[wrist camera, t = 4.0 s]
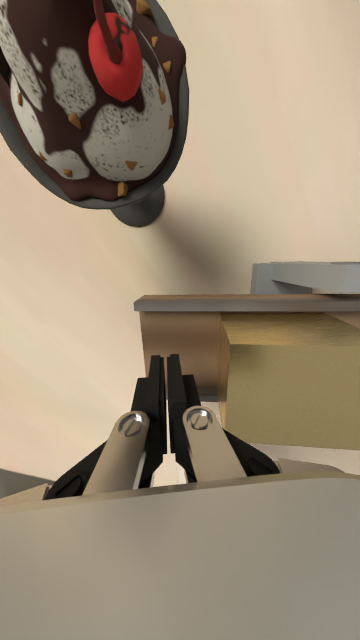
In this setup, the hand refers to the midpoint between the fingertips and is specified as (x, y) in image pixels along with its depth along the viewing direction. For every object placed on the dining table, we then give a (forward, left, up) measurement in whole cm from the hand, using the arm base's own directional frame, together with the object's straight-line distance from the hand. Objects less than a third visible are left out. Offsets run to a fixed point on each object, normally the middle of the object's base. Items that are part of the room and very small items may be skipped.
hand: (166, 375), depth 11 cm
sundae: (-12, -2, -9) cm, 15 cm away
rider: (0, +7, -2) cm, 8 cm away
